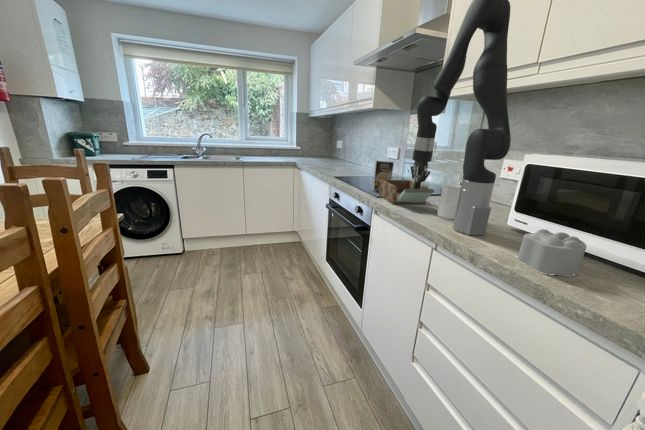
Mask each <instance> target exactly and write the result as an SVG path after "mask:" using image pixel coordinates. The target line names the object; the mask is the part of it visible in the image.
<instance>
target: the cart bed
mask: <svg viewBox="0 0 645 430" xmlns="http://www.w3.org/2000/svg"><path fill="white" fill-rule="evenodd" d="M414 182H415V181H414V180H413V181H412V179H411V180H410V179H391V180H380V187H379V192H378V196H379V195H380V196H379V197H381V196H382V197H383V198H382V197H381V198H382V199H384V200H385V201H387V202H388V203H390V204H391V205H426V203H427V202H426V201H427V200H426V201H425V202H397V198H398V197H399V196H400V195H401V193H402V192H403V191H404V189H413V188H414ZM420 189H429V187H428V186H426V185H424V184H421V185H420Z"/></svg>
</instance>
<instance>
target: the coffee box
mask: <svg viewBox="0 0 645 430" xmlns="http://www.w3.org/2000/svg"><path fill="white" fill-rule="evenodd" d="M393 169H394V162H393V161H386V160H375V162H374V171H373V180H372V187H371V189H372V192H376V193H377V192H378V193H379V187H380V180H393V179H392V178H393V171H394V170H393Z"/></svg>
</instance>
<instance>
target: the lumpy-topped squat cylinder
mask: <svg viewBox="0 0 645 430" xmlns="http://www.w3.org/2000/svg"><path fill="white" fill-rule="evenodd" d="M586 250H587V244H586V243H585V242H584V241H583V240H581V239H580V238H579V237H577V236H570V234H568V233H566V232H563V231H562V232H556V233H553V232H551V231H549V230H547V229H544V228H543V229H539V230H537V231H536V232H529V233H524V235H523V237H522V241H521V244H520V248H519V250H518V251H519V252H518V254H517V255H518V256H517V259H518V260H520V261H522V262H523V263H526V264H527V265H529V266H531V267H532V268H534V269H536V270H538V271H540V272H543V273H547V274H554V275H573V274H576V273H577V274H578V272H579V269H580V266H581V263H582V261H583V258H584V255H585V253H586ZM517 259H516V260H517ZM518 260H517V261H518ZM577 274H576V275H577ZM573 276H574V275H573Z"/></svg>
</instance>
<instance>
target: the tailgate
mask: <svg viewBox="0 0 645 430" xmlns="http://www.w3.org/2000/svg"><path fill="white" fill-rule="evenodd" d="M434 192H435V190H434V188H428V189H404V191H403V192H402V193H401V195H400V196H399V197H398V198H397V202H425V201H427V199H429V198H430V197H431V196H432V194H434Z"/></svg>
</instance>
